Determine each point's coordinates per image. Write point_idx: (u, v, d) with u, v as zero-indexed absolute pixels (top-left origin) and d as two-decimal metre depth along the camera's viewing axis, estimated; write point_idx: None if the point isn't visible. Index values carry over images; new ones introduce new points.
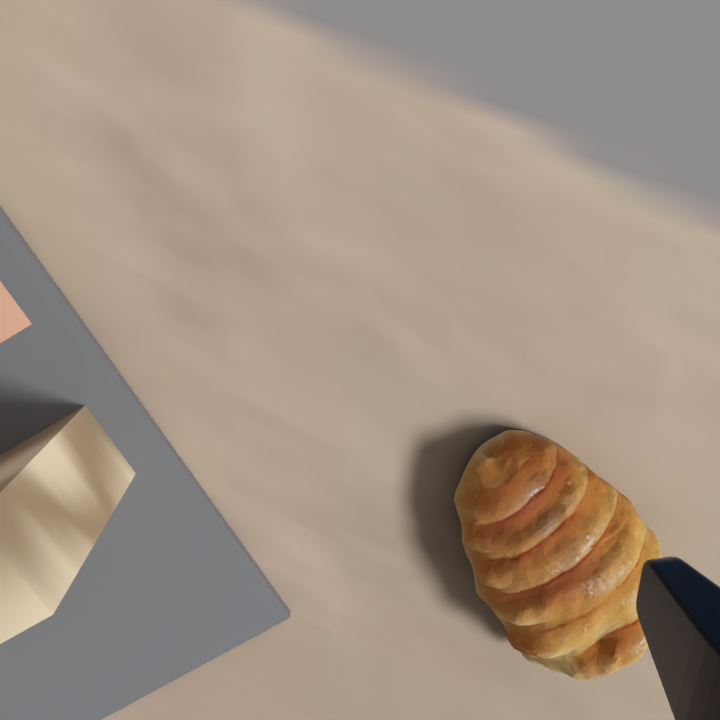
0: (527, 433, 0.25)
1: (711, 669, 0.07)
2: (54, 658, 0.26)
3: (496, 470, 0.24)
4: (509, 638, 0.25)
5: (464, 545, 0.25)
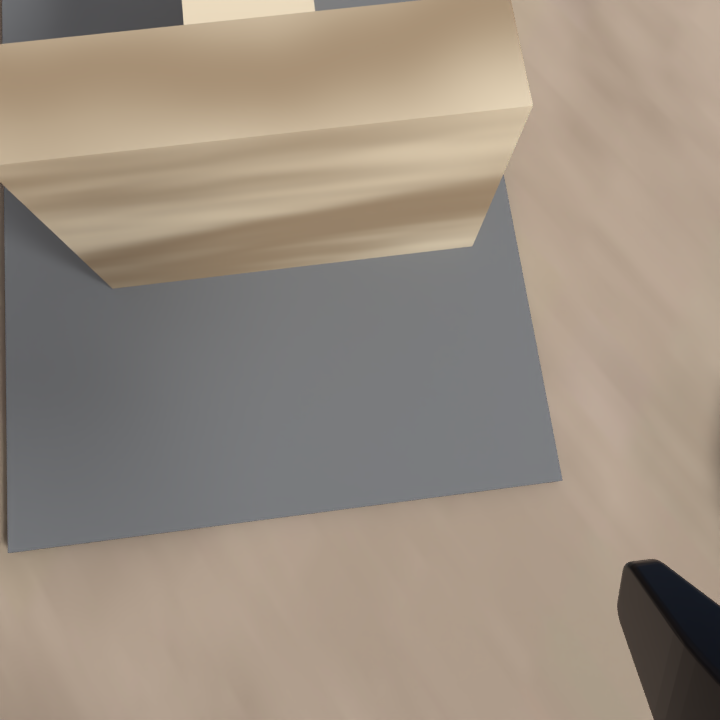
0: None
1: (688, 672, 0.07)
2: (278, 411, 0.22)
3: None
4: None
5: None
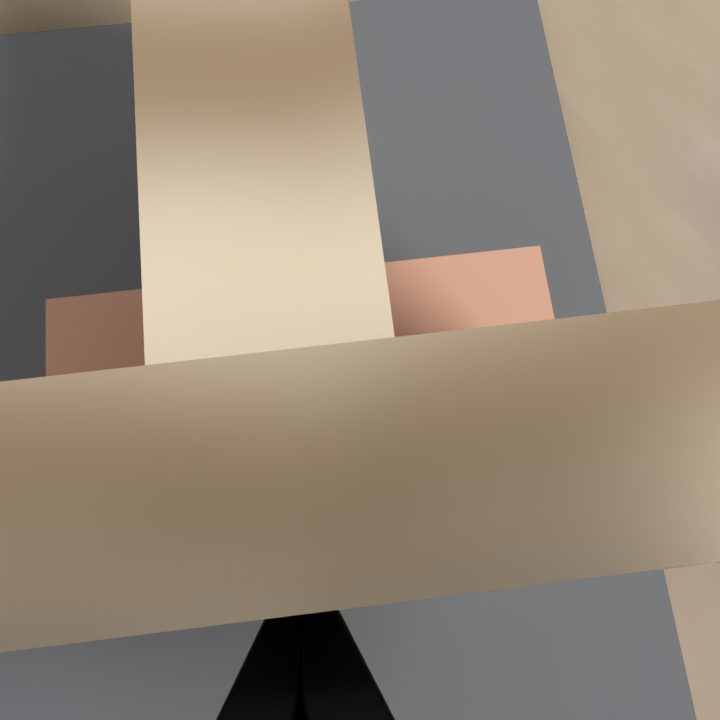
0: None
1: None
2: None
3: None
4: None
5: None
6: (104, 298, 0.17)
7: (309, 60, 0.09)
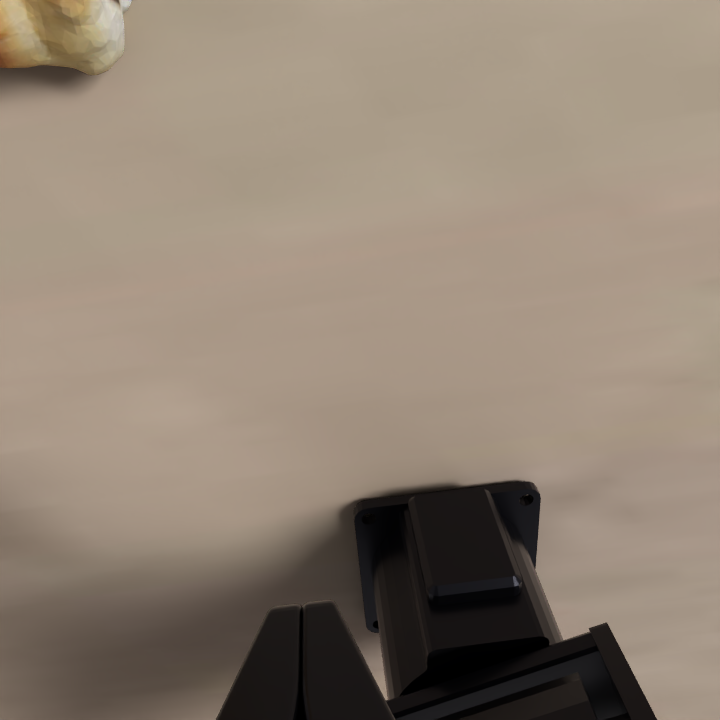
0: None
1: None
2: None
3: None
4: None
5: None
6: None
7: None
